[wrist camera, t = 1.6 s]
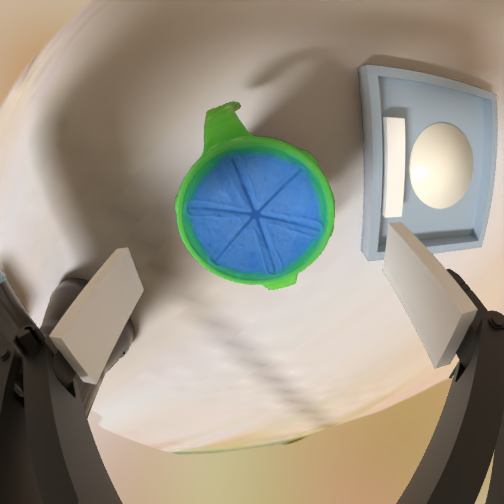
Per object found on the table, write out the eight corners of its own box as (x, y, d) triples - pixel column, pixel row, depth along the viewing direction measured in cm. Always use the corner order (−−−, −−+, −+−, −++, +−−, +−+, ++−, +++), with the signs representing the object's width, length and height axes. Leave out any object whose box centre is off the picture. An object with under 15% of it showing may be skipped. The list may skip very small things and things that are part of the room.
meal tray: (360, 249, 30) (368, 261, 27) (357, 67, 20) (366, 64, 18) (471, 238, 28) (482, 247, 26) (483, 92, 18) (496, 94, 16)
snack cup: (320, 239, 29) (343, 298, 20) (226, 257, 31) (213, 320, 22) (293, 92, 22) (313, 81, 13) (184, 119, 23) (141, 126, 14)
